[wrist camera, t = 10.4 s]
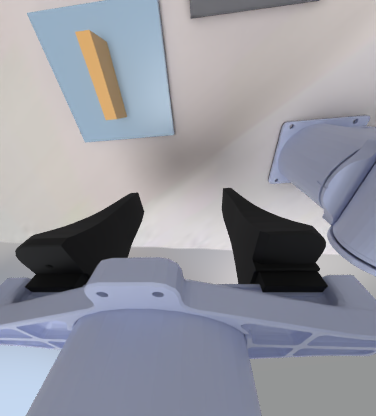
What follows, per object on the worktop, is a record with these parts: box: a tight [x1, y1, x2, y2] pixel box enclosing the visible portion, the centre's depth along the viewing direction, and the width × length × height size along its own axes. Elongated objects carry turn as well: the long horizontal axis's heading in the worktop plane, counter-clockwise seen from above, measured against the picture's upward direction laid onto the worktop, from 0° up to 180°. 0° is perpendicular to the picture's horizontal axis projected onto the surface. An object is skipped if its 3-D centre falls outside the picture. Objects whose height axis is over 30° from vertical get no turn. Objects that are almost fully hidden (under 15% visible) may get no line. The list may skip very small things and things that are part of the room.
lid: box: [27, 0, 175, 142], centre depth 15 cm, size 12×11×4 cm
